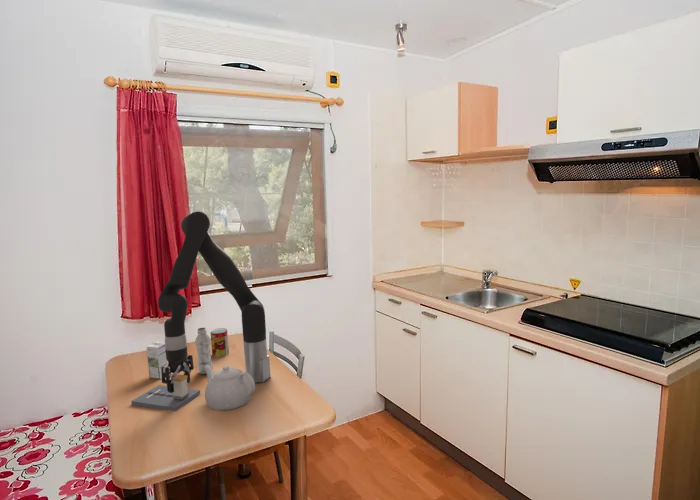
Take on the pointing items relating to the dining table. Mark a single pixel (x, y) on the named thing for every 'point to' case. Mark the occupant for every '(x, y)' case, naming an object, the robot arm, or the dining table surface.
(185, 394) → the fader knob
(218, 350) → the canned food
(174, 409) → the console
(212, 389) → the teapot
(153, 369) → the syrup box
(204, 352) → the plastic bottle
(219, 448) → the dining table surface
